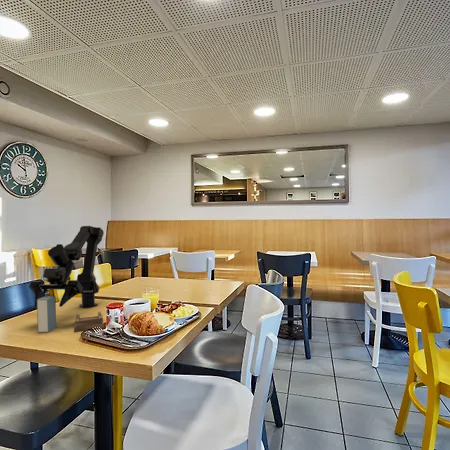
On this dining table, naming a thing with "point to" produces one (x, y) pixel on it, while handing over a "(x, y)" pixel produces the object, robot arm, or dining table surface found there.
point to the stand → (88, 322)
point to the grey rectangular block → (46, 313)
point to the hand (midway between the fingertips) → (47, 306)
